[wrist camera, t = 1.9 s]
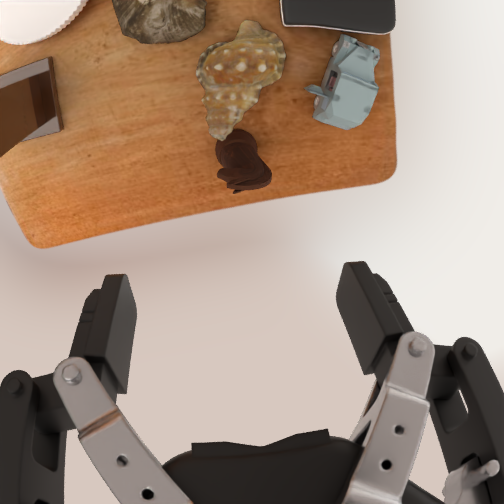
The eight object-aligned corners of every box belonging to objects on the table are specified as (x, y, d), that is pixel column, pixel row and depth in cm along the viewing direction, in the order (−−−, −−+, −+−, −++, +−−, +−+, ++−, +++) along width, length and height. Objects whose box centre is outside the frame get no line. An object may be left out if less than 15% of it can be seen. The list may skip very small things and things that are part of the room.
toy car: (370, 48, 28) (392, 52, 25) (342, 124, 34) (359, 138, 30) (318, 26, 27) (334, 26, 23) (290, 108, 33) (302, 120, 29)
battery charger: (278, 31, 27) (383, 39, 27) (282, 26, 24) (398, 37, 24) (275, -27, 23) (380, -16, 23) (278, -37, 20) (394, -23, 20)
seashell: (276, 91, 34) (268, 152, 30) (207, 81, 33) (184, 139, 29) (292, 24, 26) (288, 73, 21) (210, 13, 25) (181, 59, 21)
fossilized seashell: (230, 6, 23) (165, -52, 19) (190, 18, 19) (117, -47, 15) (185, 51, 29) (129, -4, 25) (145, 72, 25) (84, 11, 21)
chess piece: (215, 129, 33) (215, 164, 25) (261, 128, 34) (277, 163, 26) (216, 167, 36) (217, 212, 28) (260, 166, 37) (274, 210, 29)
